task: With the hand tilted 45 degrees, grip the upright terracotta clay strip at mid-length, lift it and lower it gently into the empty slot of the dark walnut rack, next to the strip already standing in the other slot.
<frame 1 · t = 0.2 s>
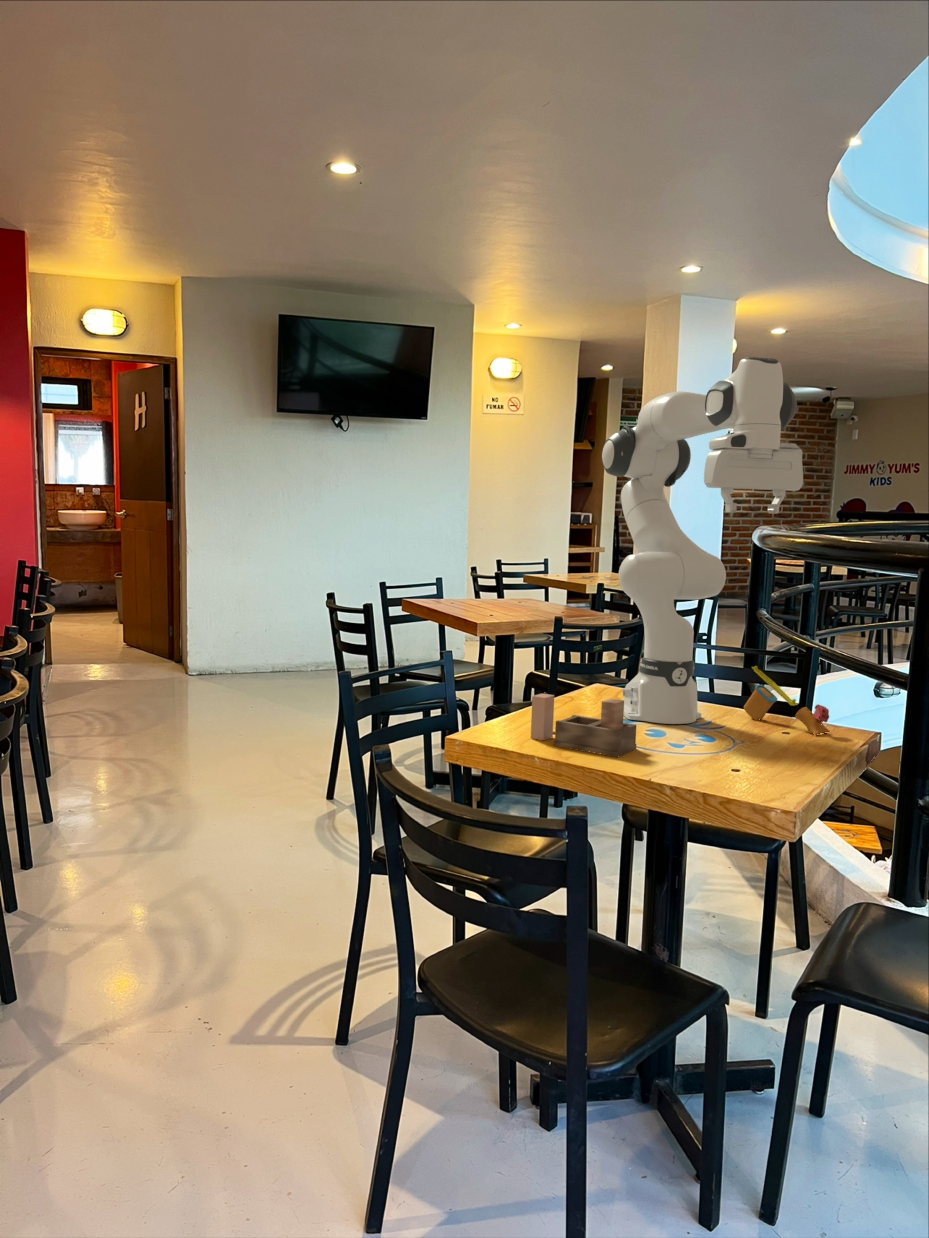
hand: (752, 512, 179), 48 cm above the table, tool pointing down, fingers open, 8 cm apart
toy: (784, 728, 208), on the table
rack: (581, 744, 185), on the table
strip: (541, 738, 190), on the table
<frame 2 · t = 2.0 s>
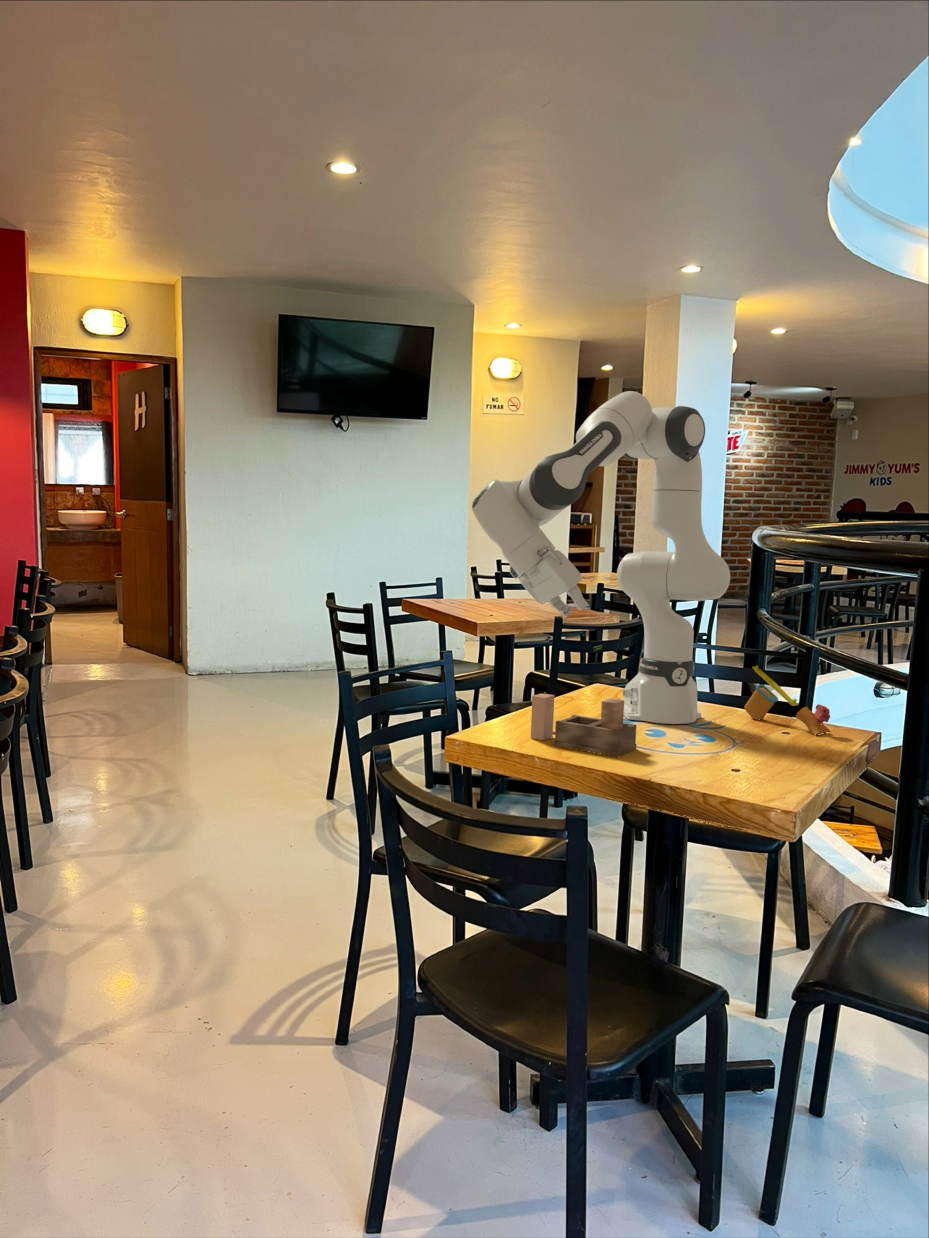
hand: (576, 611, 177), 28 cm above the table, tool tilted 40°, fingers open, 8 cm apart
nothing on the table moved.
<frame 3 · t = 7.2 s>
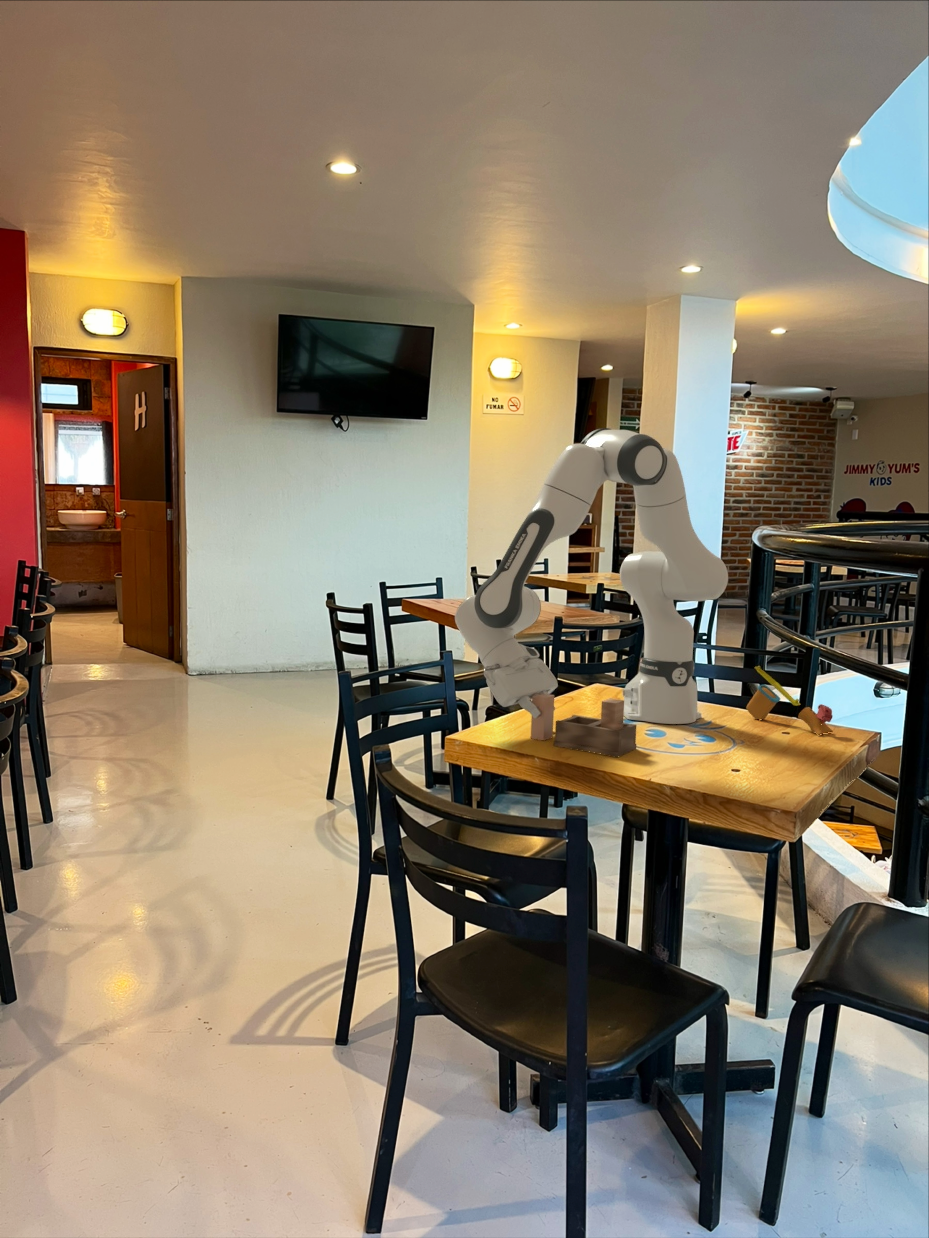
hand: (545, 713, 189), 5 cm above the table, tool tilted 45°, fingers closed on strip, 4 cm apart
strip: (541, 737, 190), on the table, touching gripper
everything else where it was.
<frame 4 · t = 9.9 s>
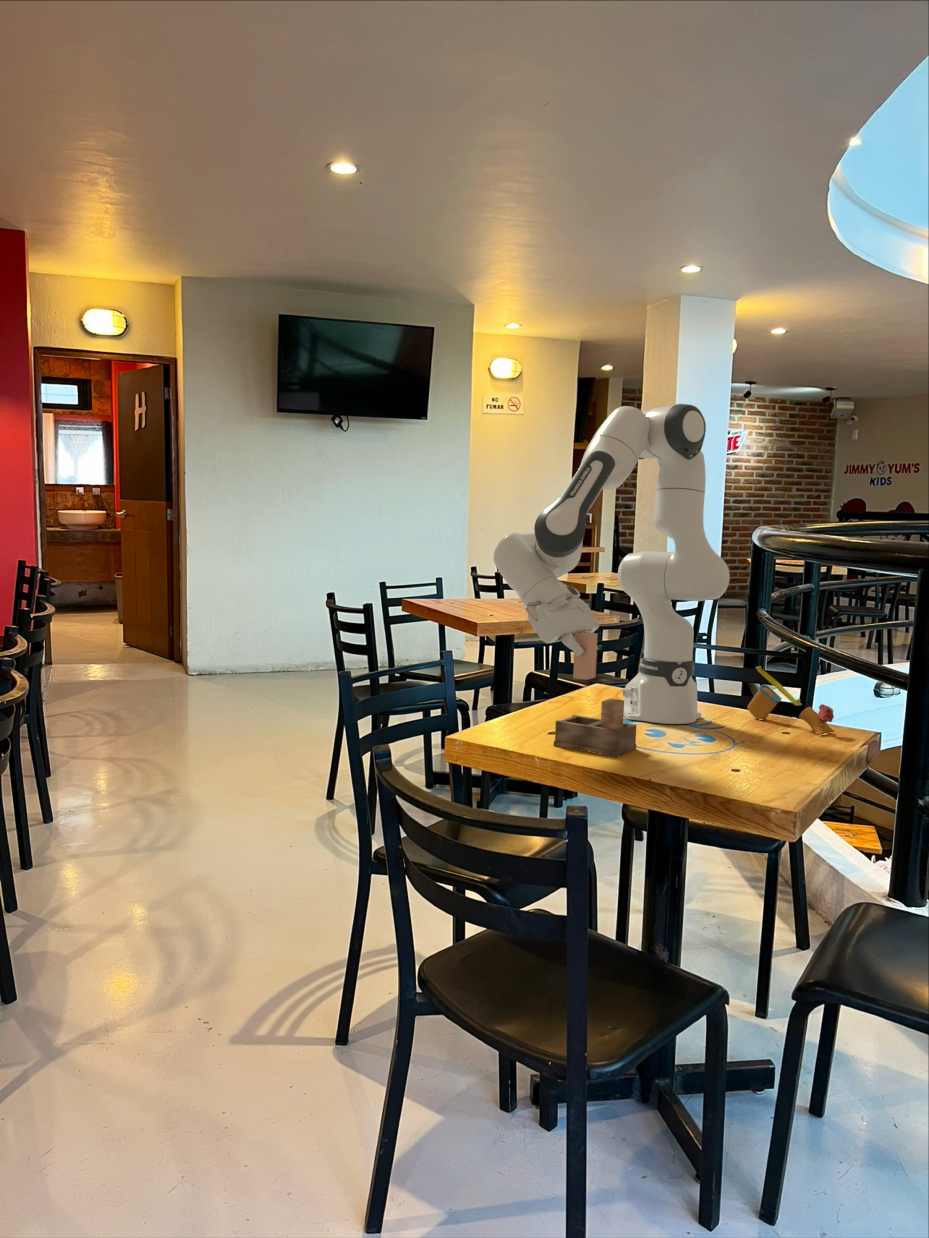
hand: (588, 652, 183), 19 cm above the table, tool tilted 45°, fingers closed on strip, 4 cm apart
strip: (584, 677, 183), point 14 cm above the table, touching gripper
when the fingers open (8 cm above the table, at t = 12.7 s): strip drops 2 cm, resting on rack.
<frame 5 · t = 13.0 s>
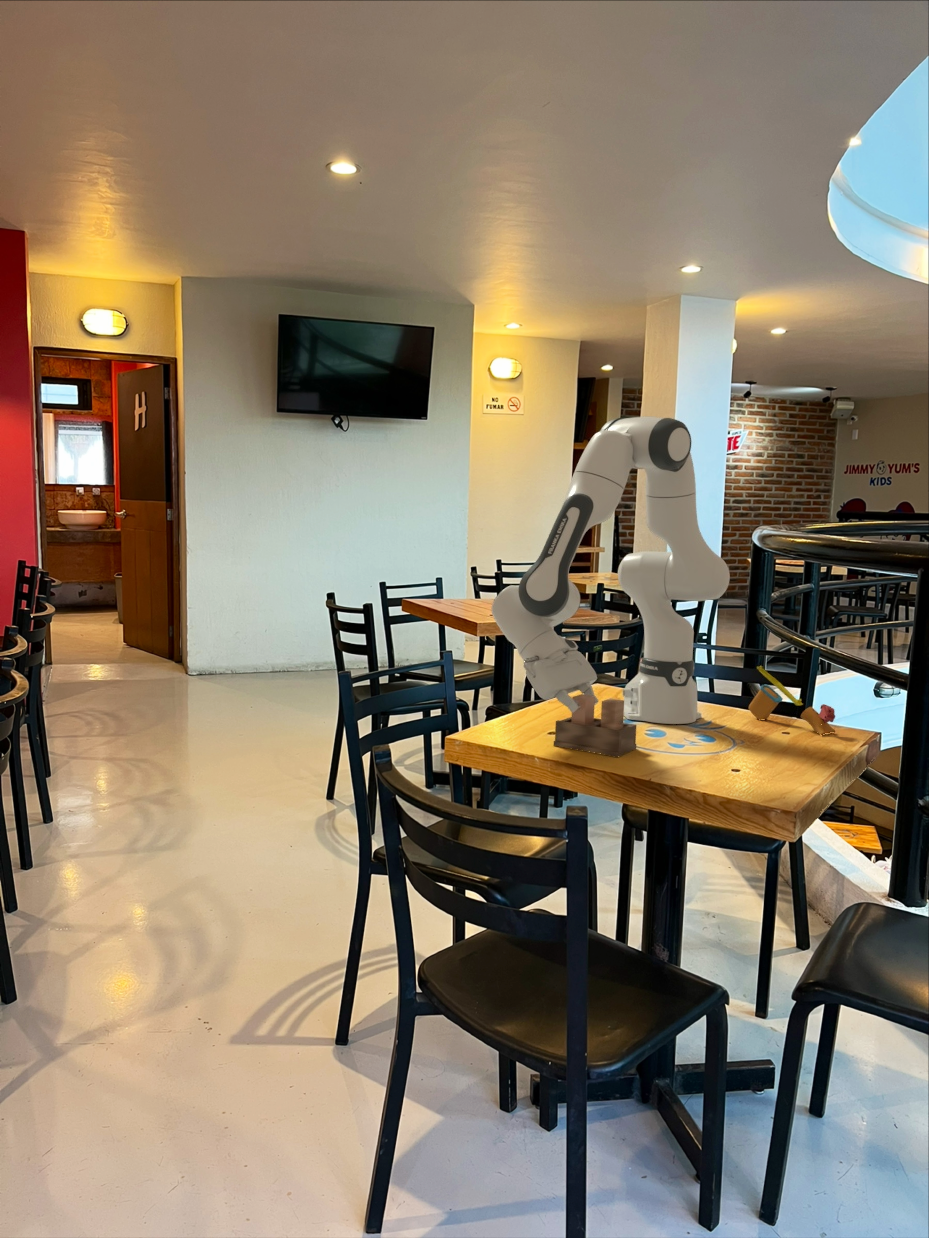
hand: (586, 707, 184), 8 cm above the table, tool tilted 45°, fingers open, 7 cm apart
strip: (581, 739, 185), point 1 cm above the table, touching rack
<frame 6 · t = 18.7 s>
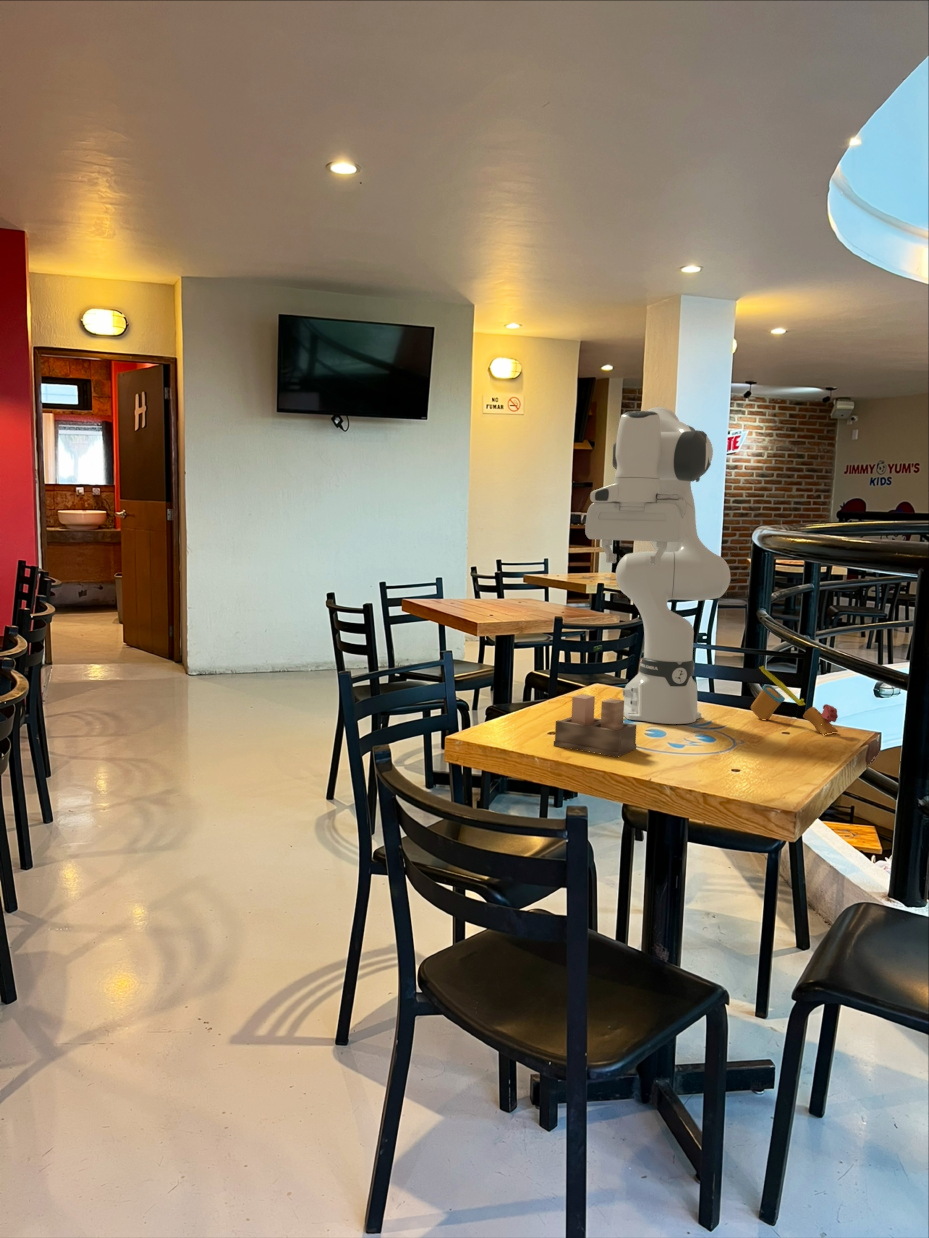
hand: (632, 564, 180), 37 cm above the table, tool pointing down, fingers open, 8 cm apart
at the end: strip 0.1 cm off-centre on the rack, point 1.0 cm above the rack's base; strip tilted 0°; the gripper is holding nothing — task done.
